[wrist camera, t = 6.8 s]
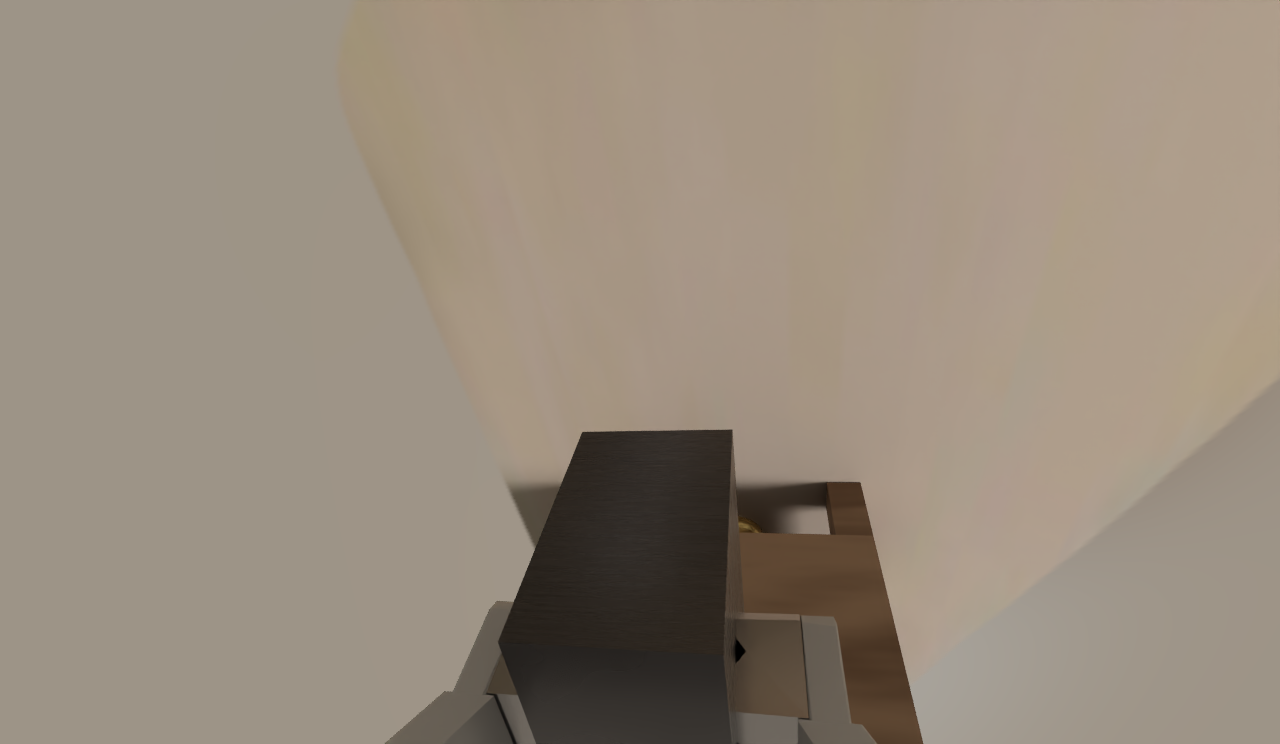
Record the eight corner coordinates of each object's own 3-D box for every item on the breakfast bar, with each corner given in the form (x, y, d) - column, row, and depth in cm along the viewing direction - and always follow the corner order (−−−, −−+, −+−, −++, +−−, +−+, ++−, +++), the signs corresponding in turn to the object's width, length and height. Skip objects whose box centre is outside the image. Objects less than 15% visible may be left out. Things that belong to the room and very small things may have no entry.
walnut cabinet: (611, 481, 40) (523, 775, 25) (860, 482, 37) (941, 820, 22) (632, 594, 46) (571, 894, 30) (851, 604, 43) (911, 944, 27)
